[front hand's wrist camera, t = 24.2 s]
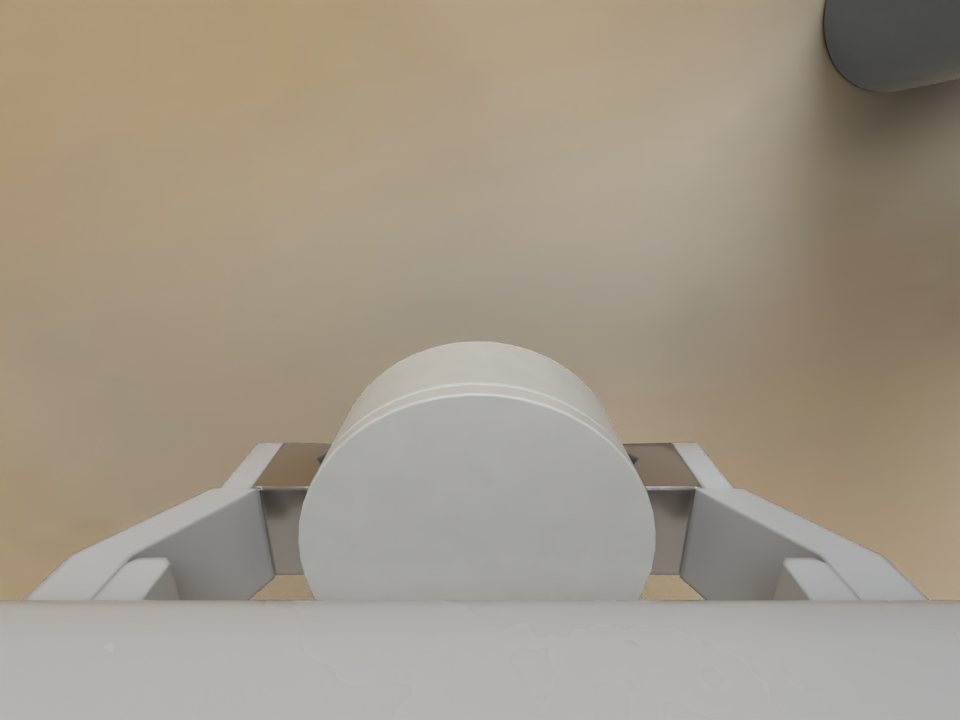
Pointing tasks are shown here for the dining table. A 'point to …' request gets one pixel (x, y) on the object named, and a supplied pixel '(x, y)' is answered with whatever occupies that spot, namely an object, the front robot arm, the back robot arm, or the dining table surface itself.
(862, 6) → the dark grey piece
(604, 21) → the dining table surface
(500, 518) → the lid
